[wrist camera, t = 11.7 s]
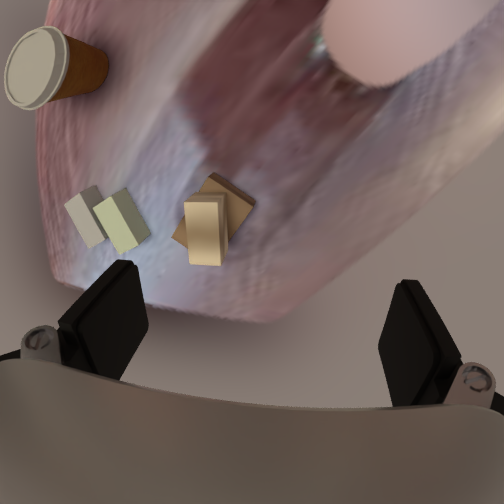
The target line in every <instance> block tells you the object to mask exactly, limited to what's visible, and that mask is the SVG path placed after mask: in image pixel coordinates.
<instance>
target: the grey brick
mask: <svg viewBox="0 0 504 504" xmlns="http://www.w3.org/2000/svg"><path fill="white" fill-rule="evenodd" d="M103 201H104V200H103V198H102V196H101V195H100V193H99V191H98V189H97V187H96V185H95V186H93V187H91V188H89V189H87V190H84V191H82V192H80V193H79V194H77V195H76V196H75V197H73V198H72V199H71V200H70V201H68V202H67V203H66V204H64V205H65V207H66V209H67V211H68V213H69V215H70V216H71V218H72V220H73V222H74V224H75V226H76V227H77V229H78V231H79V233H80V235H81V236H82V238H83V240H84V241H85V243H86V245H87V247H88V248H91V247H93V246H95V245H96V244H98V243H100V242H102V241H103V240H105V239H106V238H108V237H109V236H108V234H107V233H106V231H105V229H104V228H103V226H102V224H101V222H100V220H99V219H98V217H97V215H96V213H95V211H94V210H93V208H94V207H95V206H97V205H98V204H100V203H101V202H103Z"/></svg>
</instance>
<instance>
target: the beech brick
mask: <svg viewBox="0 0 504 504" xmlns="http://www.w3.org/2000/svg"><path fill="white" fill-rule="evenodd" d="M184 209H185V221H186V232H187V242H188V252H189V262H190V264H197V265H213V266H221V265H222V262H223V260H224V258H225V256H226V254H227V252H228V232H227V206H226V192H195V193H194V194H193V195H192V196H190V197H189V198H188V199H187V200H186V201H185V202H184Z"/></svg>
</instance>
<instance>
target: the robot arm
mask: <svg viewBox="0 0 504 504" xmlns="http://www.w3.org/2000/svg"><path fill="white" fill-rule="evenodd" d="M58 324H59V326H60V327H59V328H58V330H56V329H55V328H54V327H52V326H48V325H43V326H38V327H35V328H33V329H31V330H30V331H29V332H27V333H26V334H25V335H24V337H23V338H22V341H21V349H19V350H16V351H13V352H10V353H7V354H4V355H1V356H0V504H504V397H503V396H502V395H500V394H498V393H496V392H495V388H496V381H495V378H494V376H493V374H492V372H491V371H490V370H489V369H488V368H486V367H485V366H483V365H481V364H479V363H475V362H469V363H465V364H463V363H462V361H461V359H460V358H461V354H460V352H459V350H458V348H457V346H456V345H455V343H454V341H453V339H452V337H451V335H450V333H449V332H448V330H447V328H446V326H445V324H444V323H443V321H442V319H441V317H440V316H439V314H438V312H437V310H436V309H435V307H434V305H433V304H432V302H431V300H430V299H429V297H428V295H427V294H426V292H425V290H424V289H423V287H422V286H421V284H420V283H419V281H418V280H406V279H403V280H402V281H401V283H398V284H397V285H396V287H395V290H394V294H393V298H392V301H391V305H390V308H389V311H388V315H387V318H386V321H385V324H384V327H383V331H382V333H381V336H380V339H379V344H378V350H379V354H380V358H381V361H382V365H383V369H384V373H385V377H386V381H387V384H388V388H389V392H390V397H391V401H392V405H393V407H375V408H310V407H289V406H275V405H262V404H252V403H241V402H233V401H225V400H217V399H211V398H204V397H197V396H191V395H186V394H179V393H174V392H169V391H164V390H159V389H154V388H149V387H145V386H140V385H136V384H131V383H127V382H123V381H119V380H120V378H121V376H122V374H123V373H124V371H125V369H126V367H127V366H128V364H129V362H130V360H131V358H132V356H133V355H134V353H135V352H136V350H137V348H138V346H139V345H140V343H141V341H142V339H143V338H144V336H145V334H146V333H147V331H148V326H149V325H148V324H149V323H148V318H147V314H146V309H145V303H144V298H143V293H142V288H141V283H140V277H139V271H138V267H137V265H134V263H133V261H131V260H120V259H118V260H116V261H115V262H114V263H113V264H112V265H111V266H110V267H109V268H108V269H107V270H106V271H105V272H104V273H103V274H102V275H101V276H100V277H99V278H98V279H97V280H96V281H95V282H94V283H93V284H92V285H91V286H90V287H89V288H88V289H87V290H86V291H85V292H84V293H83V294H82V296H80V298H79V299H78V300H77V301H76V302H75V303H74V304H73V305H72V306H71V307H70V308H69V309H68V310H67V311H66V313H65V314H64V315H63V316H62V317H61V318H60V319H59V320H58Z"/></svg>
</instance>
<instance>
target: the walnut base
mask: <svg viewBox="0 0 504 504" xmlns="http://www.w3.org/2000/svg"><path fill="white" fill-rule="evenodd" d="M199 192H226V206H227V232H228V242H229V240H230V239H231V237H232V236H233V235H234V233H235V232H236V230H237V229H238V228H239V226H240V225H241V223H242V222H243V221H244V219H245V218H246V217H247V215H248V214H249V212H250V211H251V210H252V208H253V207H254V204H255V202H256V201H255V200H254V199H253V198H251V197H250V196H248V195H247V194H245V193H244V192H242V191H241V190H239V189H238V188H236V187H235V186H233V185H232V184H230V183H229V182H227V181H226V180H224V179H223V178H221V177H220V176H218V175H217V174H215V173H212V174H211V175H210V176H209V177H208V178H207V180H206V181H205V183H204V184H203V186H202V187H201V189H200V191H199ZM171 238H173V239H174V240H176V241H177V242H179V243H180V244H182V245H183V246H185V247H186V248H188V242H187V232H186V221H185V215H184V217H183V218H182V220H181V222H180V223H179V225H178V227H177V229H176V230H175V232H174V234H173V235H172V237H171Z"/></svg>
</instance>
